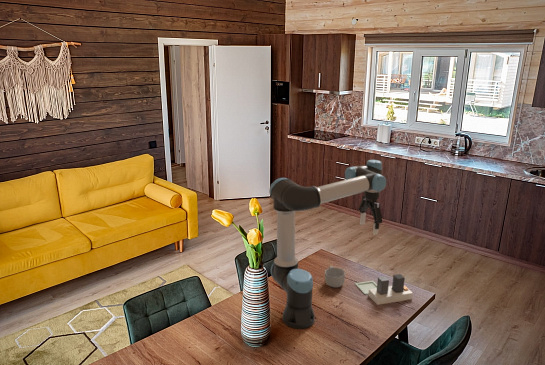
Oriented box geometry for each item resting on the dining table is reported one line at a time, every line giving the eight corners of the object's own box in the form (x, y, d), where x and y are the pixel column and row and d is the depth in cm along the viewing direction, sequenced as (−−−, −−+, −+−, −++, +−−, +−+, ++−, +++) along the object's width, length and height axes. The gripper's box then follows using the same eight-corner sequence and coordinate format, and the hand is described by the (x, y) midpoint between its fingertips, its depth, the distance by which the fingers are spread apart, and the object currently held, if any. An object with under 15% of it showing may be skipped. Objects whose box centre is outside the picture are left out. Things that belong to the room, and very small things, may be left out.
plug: (402, 296, 220) (404, 277, 216) (395, 298, 218) (397, 278, 215) (398, 292, 223) (400, 274, 220) (391, 293, 222) (393, 275, 219)
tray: (364, 295, 222) (364, 293, 222) (354, 284, 232) (355, 283, 232) (383, 292, 225) (383, 290, 225) (372, 282, 235) (373, 280, 235)
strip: (377, 305, 213) (379, 284, 210) (368, 296, 221) (370, 275, 218) (411, 299, 219) (414, 279, 215) (401, 290, 227) (404, 270, 224)
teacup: (345, 290, 226) (346, 276, 224) (324, 289, 226) (325, 276, 224) (341, 277, 240) (342, 264, 237) (322, 276, 240) (323, 263, 237)
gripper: (392, 197, 206) (387, 238, 212) (366, 183, 229) (363, 219, 235) (378, 198, 204) (374, 239, 210) (354, 183, 227) (351, 221, 233)
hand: (368, 229), depth 222 cm, fingers open, 13 cm apart
